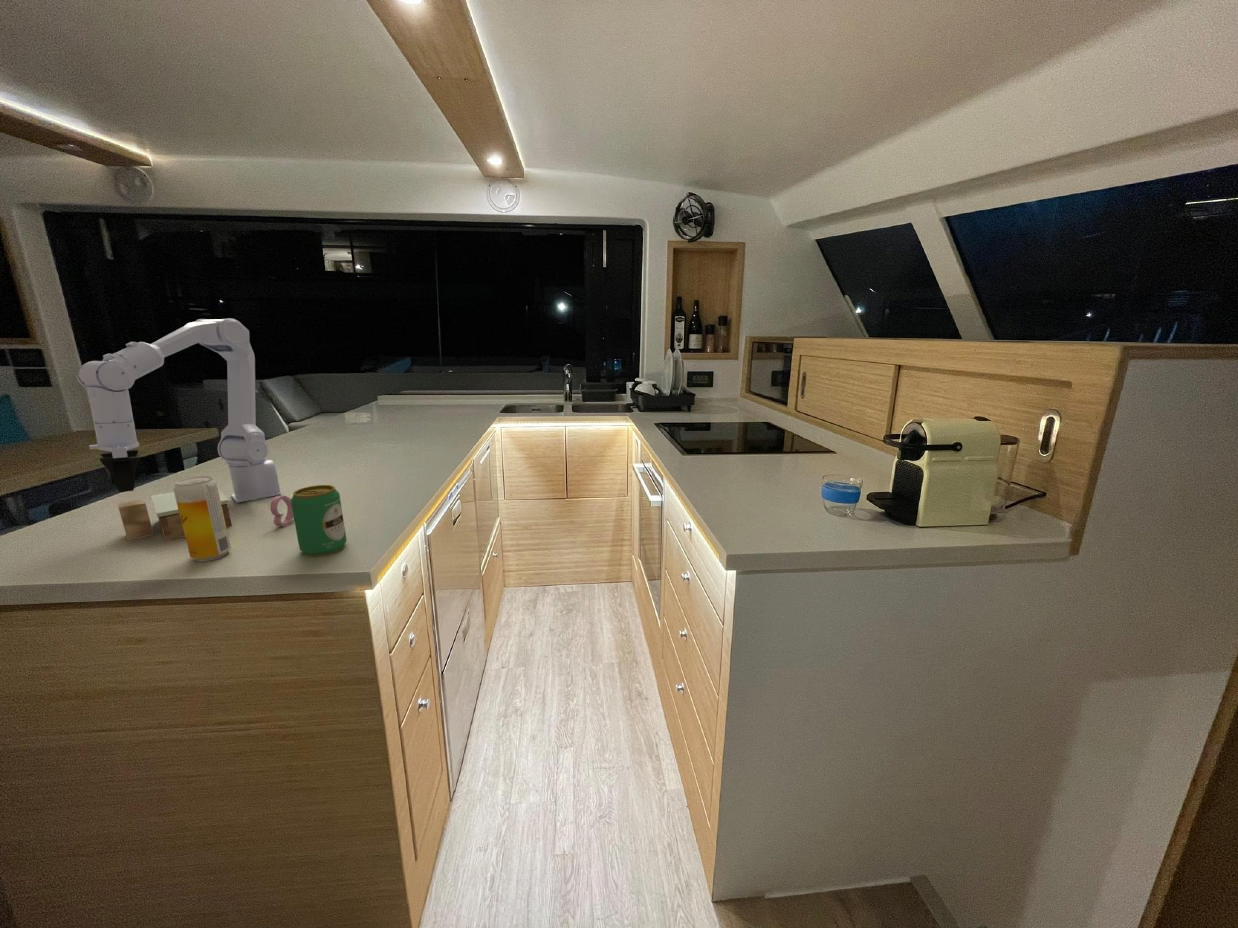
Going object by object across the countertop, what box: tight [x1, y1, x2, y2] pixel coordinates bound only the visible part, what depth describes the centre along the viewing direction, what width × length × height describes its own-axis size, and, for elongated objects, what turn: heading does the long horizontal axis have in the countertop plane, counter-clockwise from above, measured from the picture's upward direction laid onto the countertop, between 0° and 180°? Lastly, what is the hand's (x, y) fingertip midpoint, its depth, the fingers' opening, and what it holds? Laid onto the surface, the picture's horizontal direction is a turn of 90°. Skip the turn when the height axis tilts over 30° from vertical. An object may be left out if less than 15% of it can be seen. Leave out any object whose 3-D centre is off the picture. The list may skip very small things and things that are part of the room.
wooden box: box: [157, 504, 233, 541], centre depth 111 cm, size 11×16×5 cm
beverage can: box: [290, 484, 348, 558], centre depth 96 cm, size 8×8×12 cm
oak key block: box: [117, 498, 155, 541], centre depth 104 cm, size 4×4×7 cm
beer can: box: [173, 475, 232, 562], centre depth 93 cm, size 6×6×15 cm
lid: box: [150, 485, 229, 518], centre depth 109 cm, size 12×16×4 cm
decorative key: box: [269, 495, 294, 527], centre depth 116 cm, size 7×1×20 cm
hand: (125, 487), depth 103 cm, fingers open, 7 cm apart
